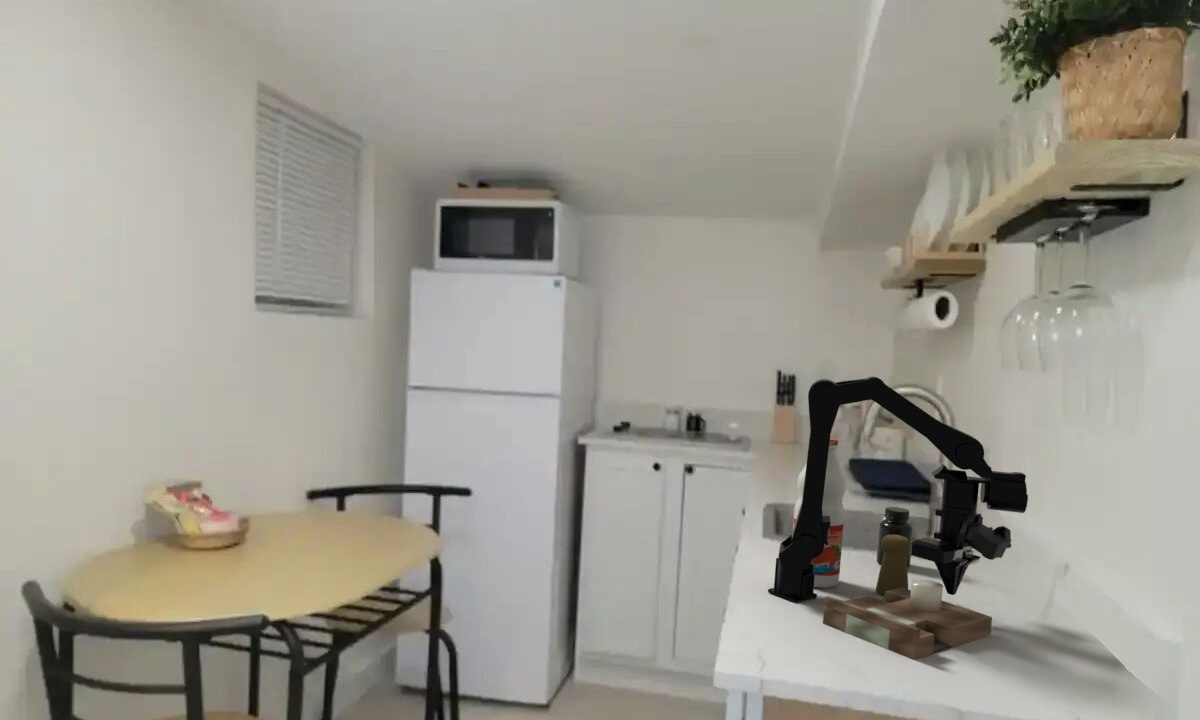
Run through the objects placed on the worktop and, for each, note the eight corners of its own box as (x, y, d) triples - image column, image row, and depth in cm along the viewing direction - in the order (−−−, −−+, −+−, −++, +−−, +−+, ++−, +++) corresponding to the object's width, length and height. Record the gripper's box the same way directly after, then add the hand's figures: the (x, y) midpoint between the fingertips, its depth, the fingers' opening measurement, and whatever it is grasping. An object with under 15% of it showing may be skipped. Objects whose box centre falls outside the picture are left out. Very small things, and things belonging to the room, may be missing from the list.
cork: (911, 600, 159) (916, 541, 158) (877, 596, 160) (881, 537, 160) (906, 590, 165) (911, 534, 164) (873, 586, 166) (878, 530, 166)
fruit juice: (835, 576, 171) (846, 436, 170) (841, 591, 162) (853, 443, 161) (787, 571, 173) (797, 432, 171) (790, 585, 163) (802, 439, 162)
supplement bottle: (872, 559, 186) (876, 504, 186) (904, 561, 186) (908, 506, 186) (881, 568, 180) (886, 511, 179) (914, 570, 179) (919, 514, 179)
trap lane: (822, 623, 143) (824, 596, 143) (900, 603, 157) (902, 579, 156) (913, 659, 130) (916, 630, 129) (990, 634, 143) (992, 608, 143)
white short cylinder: (903, 604, 146) (905, 581, 146) (920, 600, 149) (922, 577, 149) (930, 613, 142) (932, 589, 142) (946, 609, 146) (948, 585, 145)
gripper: (974, 521, 138) (965, 617, 139) (1031, 511, 149) (1023, 600, 150) (912, 506, 147) (904, 596, 148) (971, 498, 158) (963, 582, 159)
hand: (951, 594), depth 151 cm, fingers closed
